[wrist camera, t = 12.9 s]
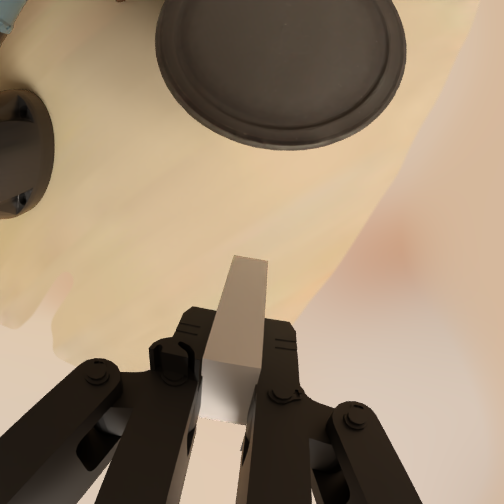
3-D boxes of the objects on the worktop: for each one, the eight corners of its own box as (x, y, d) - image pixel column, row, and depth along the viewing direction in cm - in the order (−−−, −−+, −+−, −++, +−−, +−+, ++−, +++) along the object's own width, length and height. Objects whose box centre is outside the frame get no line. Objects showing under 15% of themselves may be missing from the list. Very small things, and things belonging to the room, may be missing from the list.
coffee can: (207, 37, 20) (146, -37, 8) (327, 24, 19) (376, -58, 6) (224, 147, 24) (171, 169, 11) (345, 134, 23) (422, 145, 10)
